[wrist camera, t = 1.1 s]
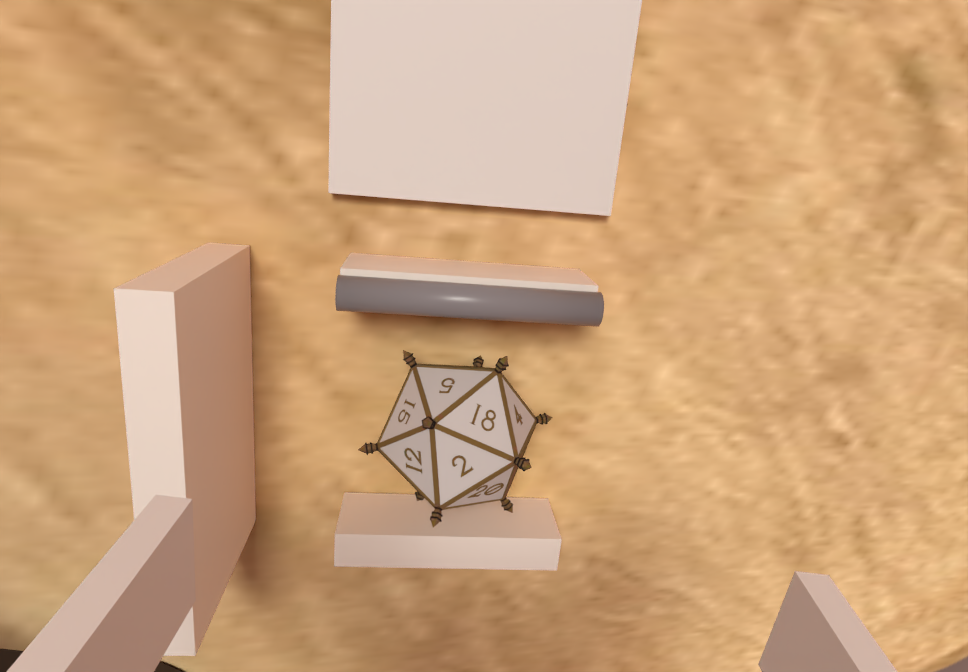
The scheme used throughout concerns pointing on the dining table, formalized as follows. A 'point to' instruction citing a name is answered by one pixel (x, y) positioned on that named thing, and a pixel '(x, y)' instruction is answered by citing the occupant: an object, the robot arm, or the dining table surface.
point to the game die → (457, 434)
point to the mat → (481, 100)
